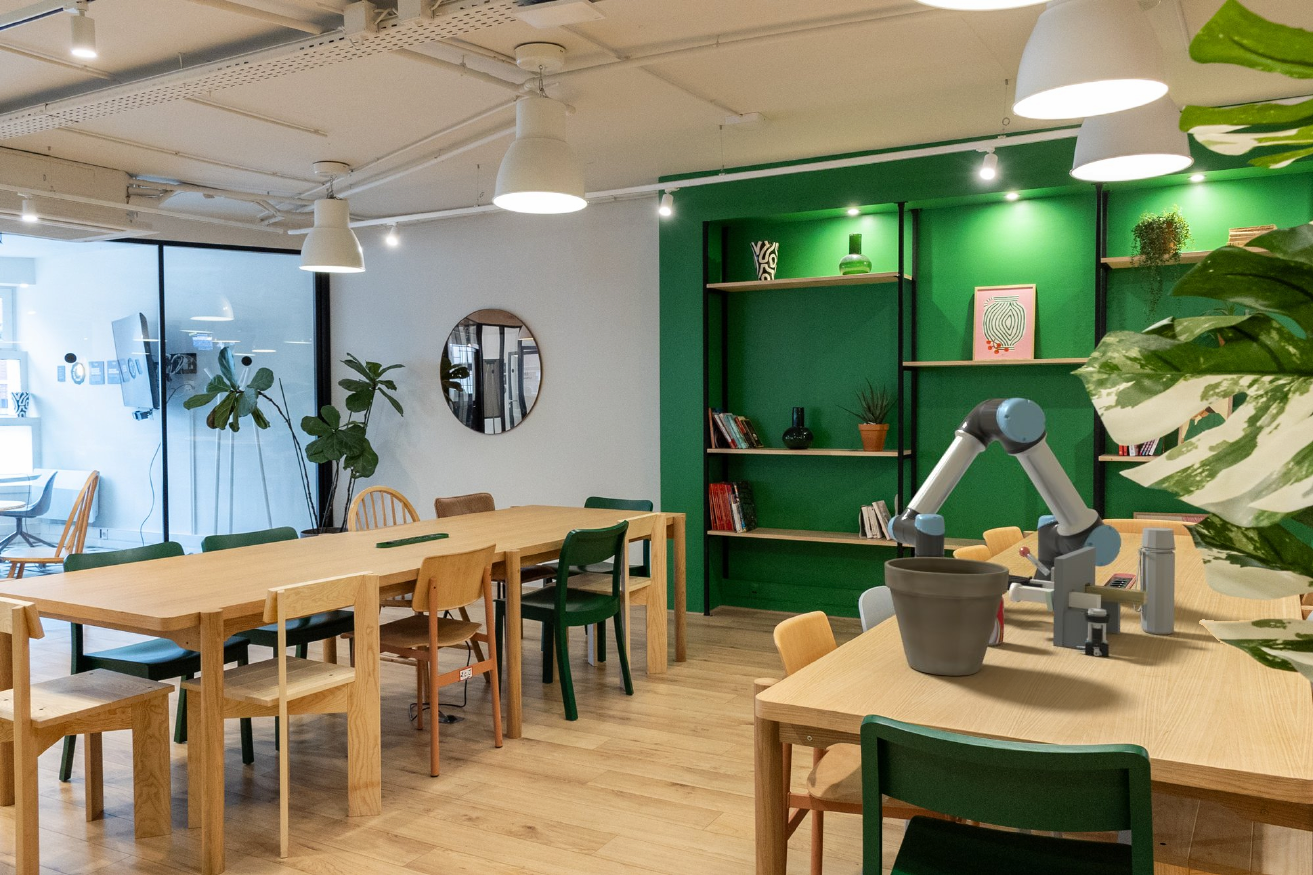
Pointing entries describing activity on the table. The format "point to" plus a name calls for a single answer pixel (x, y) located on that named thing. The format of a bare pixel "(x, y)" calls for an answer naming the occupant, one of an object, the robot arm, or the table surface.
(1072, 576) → the panel
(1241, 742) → the table surface
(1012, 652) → the table surface
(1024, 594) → the white plunger
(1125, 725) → the table surface
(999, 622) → the soda can
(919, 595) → the plant pot
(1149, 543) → the water bottle
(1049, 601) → the rocker
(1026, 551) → the toggle lever
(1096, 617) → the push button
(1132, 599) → the brass plunger
